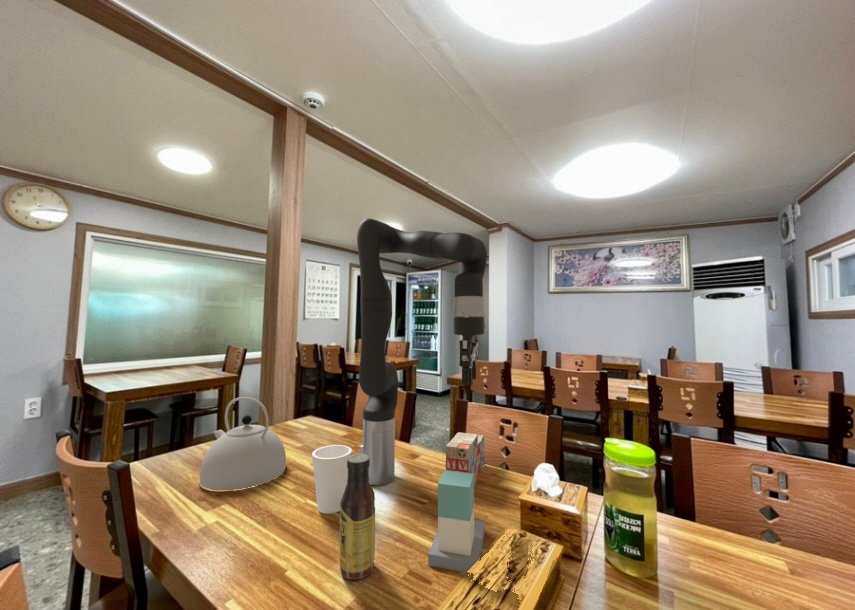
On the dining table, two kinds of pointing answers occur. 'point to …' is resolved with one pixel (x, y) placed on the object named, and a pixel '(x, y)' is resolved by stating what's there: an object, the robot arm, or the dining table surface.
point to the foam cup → (330, 476)
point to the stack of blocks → (465, 454)
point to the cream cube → (456, 535)
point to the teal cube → (456, 495)
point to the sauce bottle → (357, 521)
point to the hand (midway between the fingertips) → (469, 382)
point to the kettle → (243, 455)
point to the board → (458, 560)
